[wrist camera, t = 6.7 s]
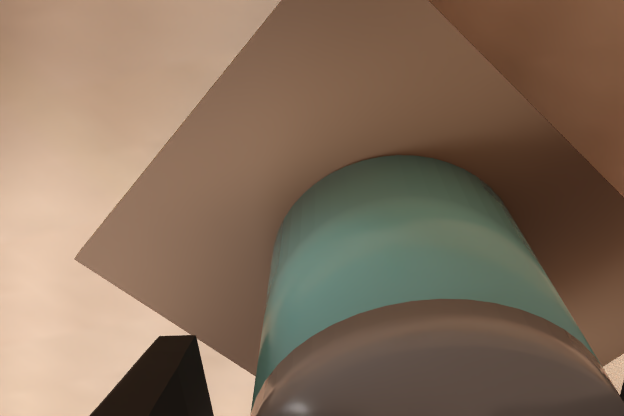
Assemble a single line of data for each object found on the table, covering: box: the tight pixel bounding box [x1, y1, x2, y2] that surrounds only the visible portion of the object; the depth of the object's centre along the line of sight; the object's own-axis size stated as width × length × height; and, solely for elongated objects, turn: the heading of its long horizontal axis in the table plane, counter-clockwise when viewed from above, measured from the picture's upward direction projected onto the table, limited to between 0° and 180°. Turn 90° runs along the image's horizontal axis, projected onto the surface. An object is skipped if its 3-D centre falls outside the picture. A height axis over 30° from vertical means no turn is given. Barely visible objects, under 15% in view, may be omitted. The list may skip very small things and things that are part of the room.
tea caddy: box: [251, 155, 624, 416], centre depth 9 cm, size 5×5×5 cm
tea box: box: [74, 0, 624, 376], centre depth 13 cm, size 10×8×4 cm
